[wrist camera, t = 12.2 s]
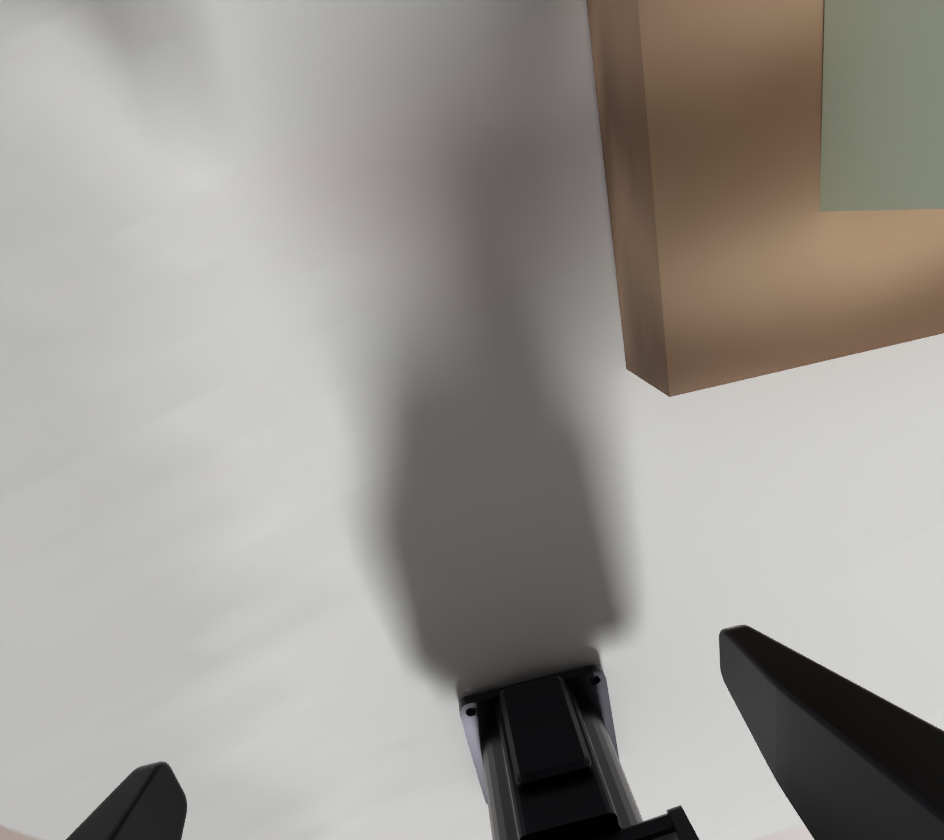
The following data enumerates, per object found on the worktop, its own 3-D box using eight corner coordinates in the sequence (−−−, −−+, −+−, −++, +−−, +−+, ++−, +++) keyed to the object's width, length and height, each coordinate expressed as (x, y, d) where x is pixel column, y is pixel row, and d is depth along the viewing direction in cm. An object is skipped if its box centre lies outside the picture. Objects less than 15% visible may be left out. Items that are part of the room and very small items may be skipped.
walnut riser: (976, 284, 21) (1100, 296, 17) (621, 365, 20) (669, 396, 17) (1032, -196, 16) (1224, -326, 12) (569, -103, 16) (620, -209, 12)
